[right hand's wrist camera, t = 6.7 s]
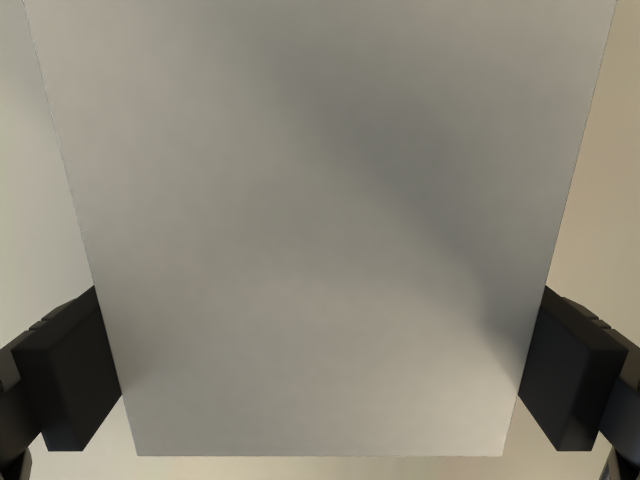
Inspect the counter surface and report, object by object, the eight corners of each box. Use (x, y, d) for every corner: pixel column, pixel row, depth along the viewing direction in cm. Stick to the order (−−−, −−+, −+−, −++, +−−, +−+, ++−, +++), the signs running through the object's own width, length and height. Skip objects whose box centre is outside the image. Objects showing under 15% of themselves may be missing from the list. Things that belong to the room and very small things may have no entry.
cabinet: (170, -113, 12) (-118, -547, 4) (469, -113, 12) (757, -547, 4) (218, 302, 18) (136, 457, 10) (421, 302, 18) (502, 457, 10)
